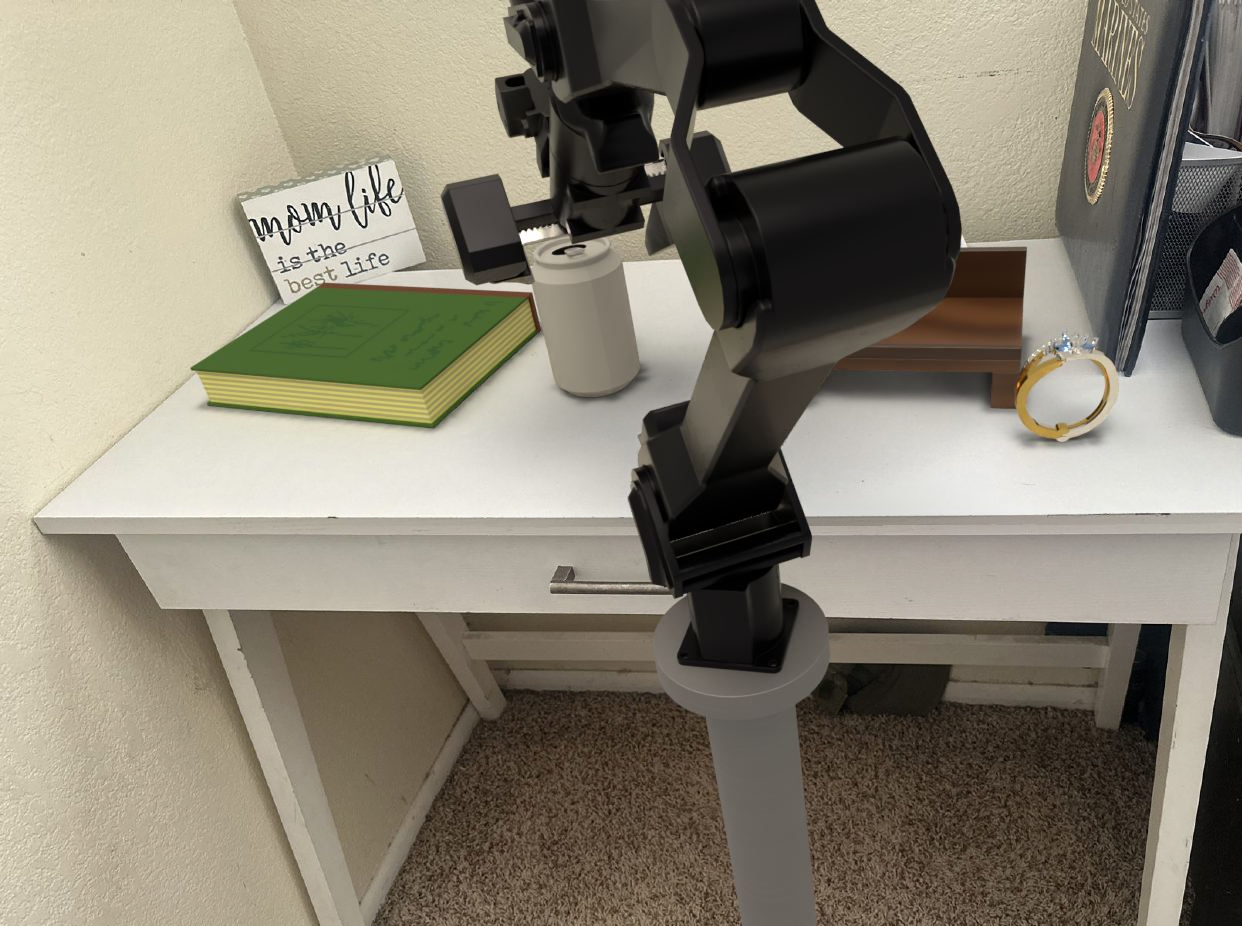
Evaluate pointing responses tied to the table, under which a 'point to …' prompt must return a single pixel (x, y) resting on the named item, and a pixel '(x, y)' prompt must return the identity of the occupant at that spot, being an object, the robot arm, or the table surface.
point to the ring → (1064, 351)
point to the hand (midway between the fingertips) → (589, 263)
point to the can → (585, 316)
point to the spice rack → (964, 326)
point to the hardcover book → (371, 352)
